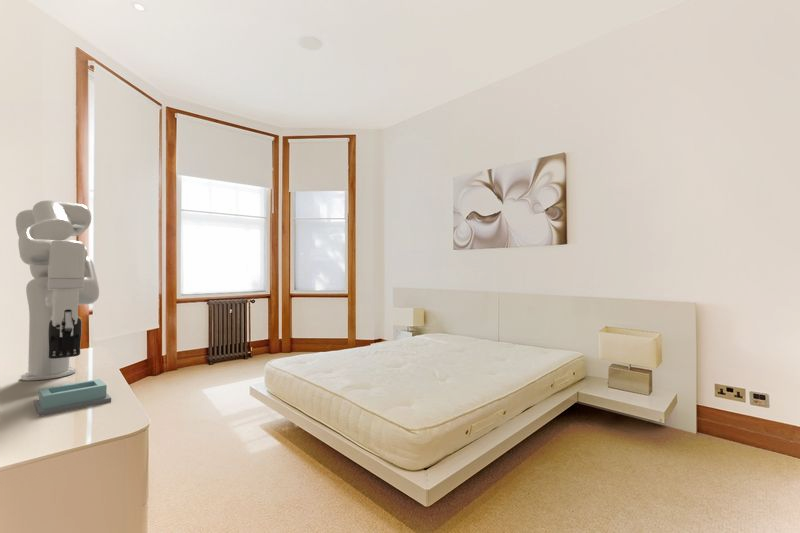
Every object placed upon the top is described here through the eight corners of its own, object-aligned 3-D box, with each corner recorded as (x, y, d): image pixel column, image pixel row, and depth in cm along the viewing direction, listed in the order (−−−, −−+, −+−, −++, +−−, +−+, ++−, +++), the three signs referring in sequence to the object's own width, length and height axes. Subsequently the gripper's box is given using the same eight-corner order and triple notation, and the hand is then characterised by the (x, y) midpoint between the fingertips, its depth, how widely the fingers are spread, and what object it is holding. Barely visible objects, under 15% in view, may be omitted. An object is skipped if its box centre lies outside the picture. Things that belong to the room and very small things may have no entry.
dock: (34, 404, 90) (34, 388, 90) (101, 391, 100) (101, 377, 100) (38, 416, 82) (39, 398, 82) (111, 401, 92) (111, 385, 92)
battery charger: (46, 360, 99) (48, 318, 99) (47, 358, 101) (48, 316, 102) (81, 356, 103) (82, 316, 103) (80, 354, 106) (82, 315, 106)
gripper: (44, 283, 105) (42, 346, 105) (51, 286, 94) (49, 357, 94) (78, 282, 111) (77, 343, 111) (89, 285, 100) (87, 352, 100)
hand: (64, 349), depth 102 cm, fingers closed on battery charger, 4 cm apart
